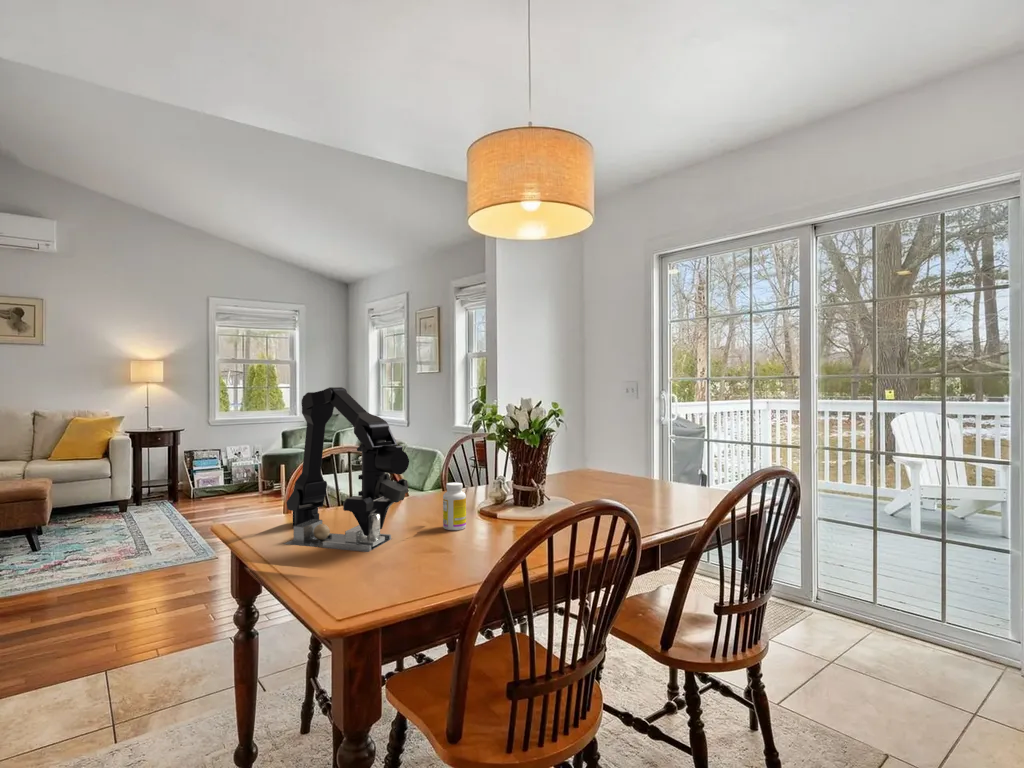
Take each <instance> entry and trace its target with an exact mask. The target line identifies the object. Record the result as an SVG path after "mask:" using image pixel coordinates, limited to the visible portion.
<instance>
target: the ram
mask: <svg viewBox="0 0 1024 768" xmlns="http://www.w3.org/2000/svg"><path fill="white" fill-rule="evenodd" d="M344 534H345V543H352V544H363V545H371V547H374V546H375V545H377V544H379V543H381V542H383V541H385V536H380V534H381V529H380V514H379V513H373V514H372V516H371V526H370V533H369V536H365V535H364V533H363V531H362V529H361V527H360V525H359V524H358V525H355V526H354V527H352V528H349V529H347V530H345V532H344Z"/></svg>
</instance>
